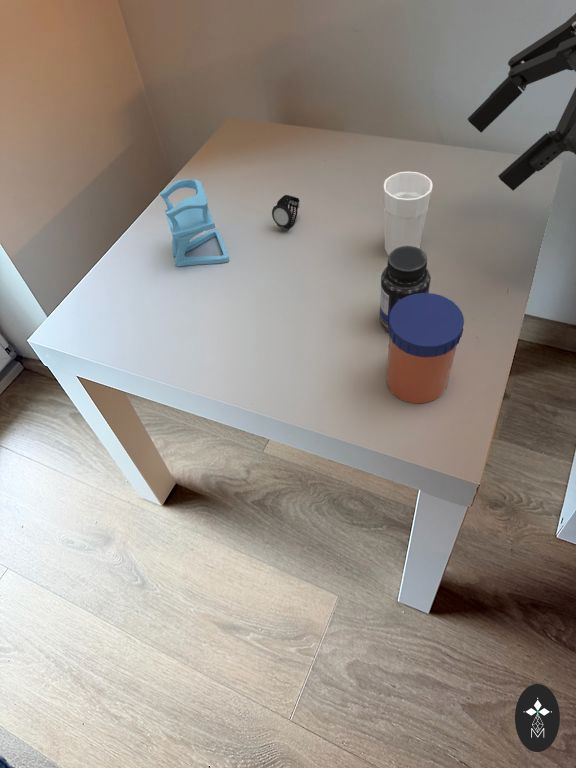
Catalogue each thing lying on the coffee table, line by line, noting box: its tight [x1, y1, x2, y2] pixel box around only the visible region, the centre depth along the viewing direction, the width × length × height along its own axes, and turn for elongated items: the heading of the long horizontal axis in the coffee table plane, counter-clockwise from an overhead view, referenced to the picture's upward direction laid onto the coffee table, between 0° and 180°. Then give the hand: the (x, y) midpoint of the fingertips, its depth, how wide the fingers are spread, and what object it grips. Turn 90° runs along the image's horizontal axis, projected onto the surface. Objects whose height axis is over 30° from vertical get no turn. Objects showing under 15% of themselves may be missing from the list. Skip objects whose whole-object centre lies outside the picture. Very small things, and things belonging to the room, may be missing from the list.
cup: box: [383, 171, 434, 257], centre depth 78 cm, size 7×7×11 cm
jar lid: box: [388, 292, 465, 358], centre depth 60 cm, size 8×8×2 cm
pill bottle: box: [378, 246, 432, 332], centre depth 69 cm, size 6×6×11 cm
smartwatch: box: [271, 194, 301, 230], centre depth 86 cm, size 4×5×5 cm
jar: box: [385, 336, 458, 404], centre depth 64 cm, size 8×8×11 cm
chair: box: [158, 179, 230, 267], centre depth 82 cm, size 8×8×12 cm
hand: (488, 153), depth 69 cm, fingers open, 13 cm apart
